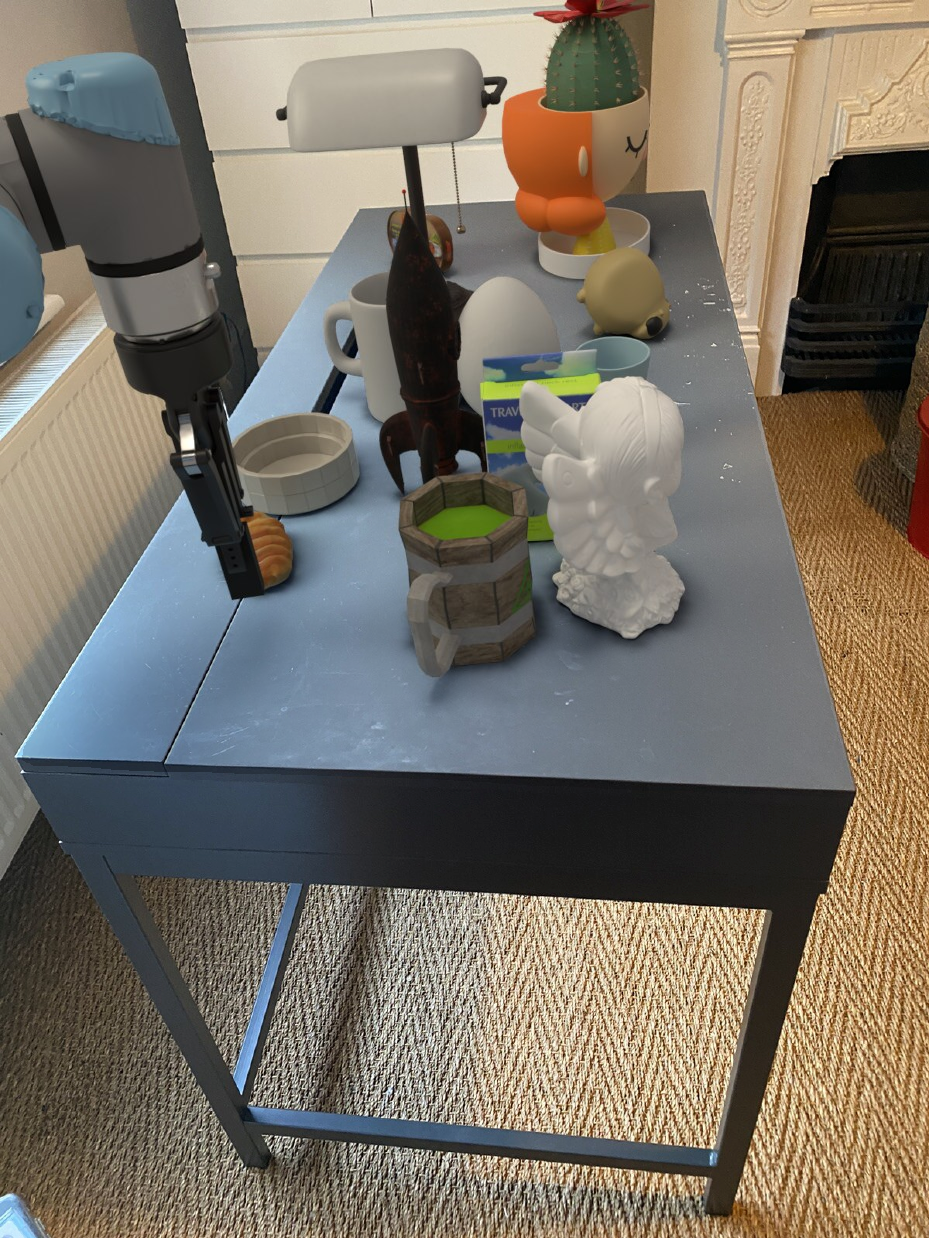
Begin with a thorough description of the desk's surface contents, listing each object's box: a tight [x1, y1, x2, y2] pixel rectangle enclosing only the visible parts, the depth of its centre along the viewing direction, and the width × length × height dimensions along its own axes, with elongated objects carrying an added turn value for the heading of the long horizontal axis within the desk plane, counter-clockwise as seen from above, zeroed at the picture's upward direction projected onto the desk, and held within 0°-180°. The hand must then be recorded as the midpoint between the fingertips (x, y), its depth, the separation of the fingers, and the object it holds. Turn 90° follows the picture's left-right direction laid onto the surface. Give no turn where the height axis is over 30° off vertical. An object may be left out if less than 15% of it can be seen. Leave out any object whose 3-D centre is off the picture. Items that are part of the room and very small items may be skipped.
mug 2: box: [398, 471, 537, 678], centre depth 75 cm, size 16×11×12 cm
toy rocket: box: [378, 188, 488, 497], centre depth 86 cm, size 9×9×30 cm
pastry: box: [240, 510, 294, 590], centre depth 89 cm, size 9×7×4 cm
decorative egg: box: [457, 276, 562, 417], centre depth 105 cm, size 12×12×15 cm
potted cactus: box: [501, 0, 652, 280], centre depth 133 cm, size 22×22×35 cm
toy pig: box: [575, 247, 672, 340], centre depth 119 cm, size 10×12×11 cm
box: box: [480, 349, 601, 542], centre depth 84 cm, size 10×4×17 cm, turn 88°
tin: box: [386, 207, 454, 273], centre depth 144 cm, size 15×3×8 cm, turn 37°
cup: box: [574, 336, 651, 383], centre depth 97 cm, size 8×8×10 cm
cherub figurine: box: [519, 376, 686, 640], centre depth 74 cm, size 13×12×20 cm
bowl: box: [231, 412, 361, 516], centre depth 99 cm, size 13×13×5 cm
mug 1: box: [323, 269, 461, 424], centre depth 108 cm, size 16×11×14 cm
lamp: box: [275, 47, 508, 321], centre depth 118 cm, size 26×24×34 cm
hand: (248, 592), depth 78 cm, fingers closed
